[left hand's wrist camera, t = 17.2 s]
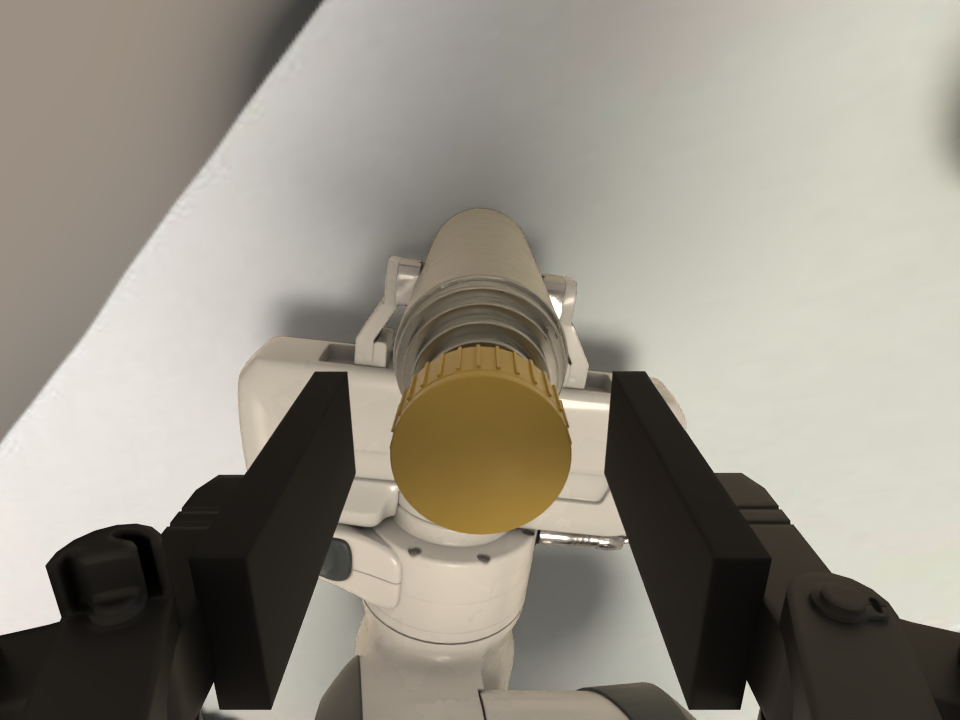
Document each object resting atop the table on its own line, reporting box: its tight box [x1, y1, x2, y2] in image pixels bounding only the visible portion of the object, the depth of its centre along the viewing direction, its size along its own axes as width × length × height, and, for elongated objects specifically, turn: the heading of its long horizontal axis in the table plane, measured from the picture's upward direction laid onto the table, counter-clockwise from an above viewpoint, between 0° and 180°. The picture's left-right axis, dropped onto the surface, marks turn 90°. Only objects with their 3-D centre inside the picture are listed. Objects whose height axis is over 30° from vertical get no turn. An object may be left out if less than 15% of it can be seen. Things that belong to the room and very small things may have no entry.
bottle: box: [393, 208, 568, 395], centre depth 23 cm, size 5×5×21 cm
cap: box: [390, 345, 572, 535], centre depth 14 cm, size 4×4×2 cm
